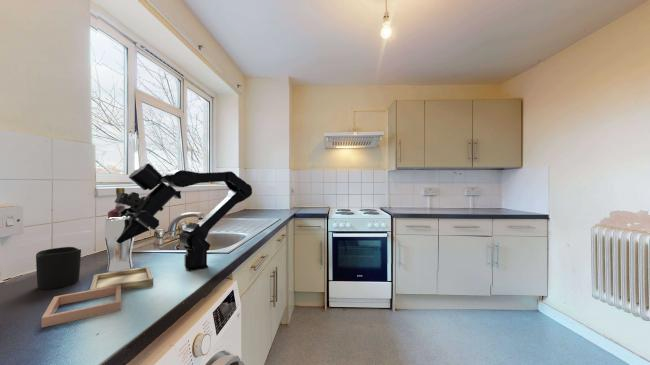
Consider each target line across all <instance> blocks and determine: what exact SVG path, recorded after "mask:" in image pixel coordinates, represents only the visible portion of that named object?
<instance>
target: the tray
mask: <svg viewBox="0 0 650 365" xmlns="http://www.w3.org/2000/svg"><path fill="white" fill-rule="evenodd" d="M117 285H121V292H126V291H130V290H136V289H142V288H146V287H150V286H151V287H153V286H154V277H153V274H152V271H151V267H150V266H145V267H136V268H132V269H130V270H127V271H123V272H118V273H109V272H104V273H98V274H97V273H96V274H93V278H92V281H91V285H90V288H89V290H94V289H100V288H105V287H111V286H117Z"/></svg>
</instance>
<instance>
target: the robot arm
mask: <svg viewBox="0 0 650 365" xmlns="http://www.w3.org/2000/svg"><path fill="white" fill-rule="evenodd" d="M128 178H129V180H130V181H132V182H133V183H134V184H136V185H137V186H138V187H139V188H141V189H142V190H143V191H146V190H149V191H150V192H149V193H148V194H147V195H146V196H145V195H143V196H141V197H140V194H139V193H138V192H134V191H132V192H129V193H127V192H125V193H122V192H120V193H119V195H118V196H117V195H116V199H115V200H114V203H115V204H116V203H121V204H124V205H125V208H122V209H121V210H120V211H118V213H119V217H130V218H129V225H128V227H127V228H126V229H125V230H124V232H123V233H122V234H121V235H120V237H119V238H118V239H117V241H116V242H118V243H122V242H124V241H126V240H128V239H131V238H133V237H134V238H135V237H137V236H139V235H141V234H144V233H146V232H149V231H151V230H153V231H155V230H156V229H157V228H158V227H159V226H160V220H159V219H157V217H155V215H156V214H158V213H159V212H162V211H163V210H164V209H165V208H164V206H166V204H168V202H169V201H171V199H173V198H174V199H180V200H181V199H182V195H181V194H182V191H181V190H176V189H175V188H187V187H190V186H194V185H197V184H200V183H201V184H202V183H218V182H224V184H225V185H226V187H227V188H228V193H227V195H226V197H225V198H224V199H223V200H221V202H219V203H218V204H217V205H216V206H215V207H214V208H213V209H212V210H211V211H210V212H208V214H207V215H205V216H204V217H203V218H202V219H201V220H200V221H199V222H192V221H191V222H189V223H188V224H187V225H186V226H185V227H184V228H182V229H181V232H180V234H179V236H178V237H179V238H178V240H179V242H180V244H181V245H183V247H184V249H185V251H186V254H185V253H184V258H183V259H184V260H183V261H184V263H183V265H184V267H185V268H186V270H187V271H194V270H200V269H205V268H209V265H208V264H207V263H208V251H209V250H210V247H211V244H210V243H209V242H208V241H207V240H206V239H207V238H208V235H209V232H210V230H211V229H212V228H213V227H214V226H216V225H217V224H218V223H219V221H220V220H221V219H223V218H224V216H226V214H228V212H230V211H231V210H232V209H233V207H235V206H236V205H237V204H240V203H241V202H243V201H245V200H247V199H248V198H250V197H251V196H252V194H253V188H252V186H251V185H250V184H249V183H247V182H246V181H244V180H243V179H242V178H240V177H239V176H238V175H236V173H235V172H233V171H223V172H222V171H221V172H219V171H218V172H217V171H216V172H215V171H214V172H196V171H190V170H184V169H183V170H182V169H181V170H171V171H169V172H168V174H167V173H164V174H161V173H159V172H158V171H157V170H156V169H155V168H154V166H153V165H152V164H150V163H145V164H144V165H143V166H140V167H139V168H138V169H136V170H133V172H131V173H130V175H129V176H128ZM167 184H168V185H167ZM126 206H128V207H126Z"/></svg>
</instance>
